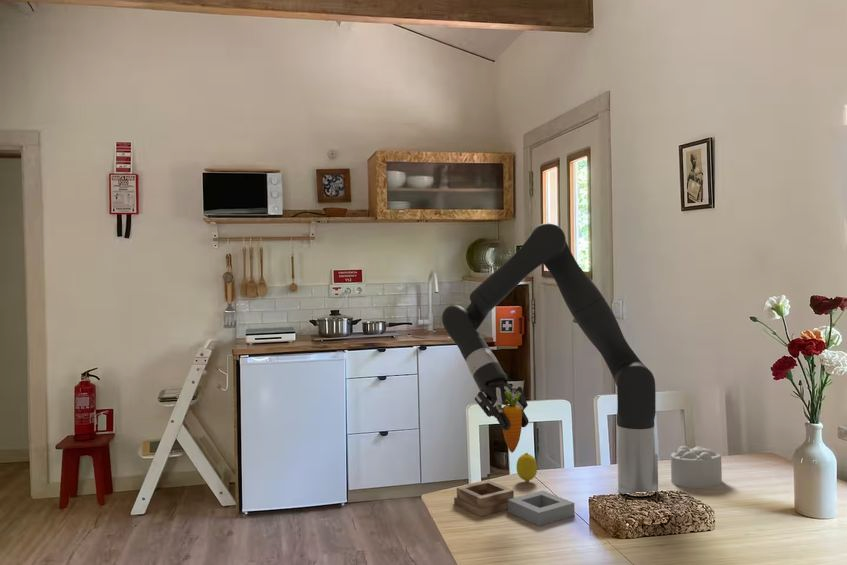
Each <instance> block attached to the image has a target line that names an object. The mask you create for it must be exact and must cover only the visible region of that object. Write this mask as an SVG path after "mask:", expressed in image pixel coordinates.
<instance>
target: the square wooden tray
mask: <svg viewBox="0 0 847 565" xmlns="http://www.w3.org/2000/svg"><path fill="white" fill-rule="evenodd" d="M512 498H515V494H514V489H511V488H509V487H507V486H505V485H504V486H503V485H502V484H499V483H496V482H494V481H492V480H489V479H487V480H484V481H479V482H475V483H472V484H471V483H470V484H467V485H462V486H459V487H456V496H454V497H453V504H454V505H456V506H458V507H461V509H462V508H463V509H465V510H467V511H469V512H470V513H473V514H475V515H477V516H479V517H484V516H488V515H491V514H495V513H498V512H499V513H500V512H502V511H506V510H507V511H508V499H512Z"/></svg>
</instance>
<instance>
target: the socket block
mask: <svg viewBox="0 0 847 565" xmlns="http://www.w3.org/2000/svg"><path fill="white" fill-rule="evenodd" d="M507 512H508V513H510V514H512V515H514V516H515V517H517V518H520V519H523V520H525V521H527V522H529V523H531V524H534V525H536V526H538V527H541V526H545V525H547V524H552V523H554V522H558V521H561V520H564V519H567V518H571V517H574V516H575V515H576V514H575V502H573V501H570V500H568V499H565V498H563V497H561V496H557V495H554V494H553V493H551V492H547V491H544V490H540V491H535V492H531V493H526V494H524V495H520V496H516V497H514V498H512V499H508V509H507Z"/></svg>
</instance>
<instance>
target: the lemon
mask: <svg viewBox="0 0 847 565" xmlns="http://www.w3.org/2000/svg"><path fill="white" fill-rule="evenodd" d="M516 472H517V475H518V477H519V478H520V479H521V480H524V482H525V483H528V482H529V481H531V480H533V479H534V478H535V477H536V475H537V472H538V465H537V461H536V459H535V457H534V456H533V455H532V454H529V453H528V452H525V453H524V454H521V455H520V456H519V457H518V459H517V461H516Z"/></svg>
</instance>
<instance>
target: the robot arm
mask: <svg viewBox="0 0 847 565" xmlns="http://www.w3.org/2000/svg"><path fill="white" fill-rule="evenodd" d="M566 239H567V238H566V234H565V232H564V231H563V229H562V228H561V227H560V226H559V225H557V224H555V223H549V222H547V223H545V222H544V223H541V224H539V225H538V226H536V227H535V228H534V229H533V230H532V232H531V234H530V236H529V237H528V238H527V240H525V242H524V243H523V245H522V246H521V247H520V248H519V249H518V250H517V251H516V253H514V254H513V255H512V257H510V259H508V260H507V261H506V262H505V263H504V264H503V265H501V266H500V267H498V268H497V270H495V271H494V272H492V273H491V275H489V276H488V277H487V278H486V279H485V280H484V281H482V282H481V283H480V284H479V285H478V286H477V287H476V288H475V289H474V290H473V291H472V292H471V293H470V294H469V300H470V304H469V305H468V306H467V307H466V308H464V307H463V306H460V305H457V304H453V305H449V306H447V307H446V308H445V309H444V310H443V312H442V314H441V315H442V316H441V320H442V321H441V322H442V325H443V327H444V330H445V331H446V332H447V334H448V336H449V337H450V338H451V339H452V341H453V342H454V344H456V346H457V348H458V349H459V351H460V353H461V355H462V357H463V359H464V362H465V363H466V366H467V368H468V371H469V373H470V374H471V377H472V378H473V380H474V382H475V385H476V386H477V388H478V390H479V392H477V394H476V396H475V397H474V400H475V402H476V403H477V405H479V407H480V409H481V410H482V411H483V413H484V414H485V415H486V416H487V417H488V418H491V417H494V418H495V419H496V421H497V422H498V424H499V426H500V427H501V429H502V430H503V429H504V430H508V429H509V428H510V426H511V425H510V423H509V421H508V419H507V417H506V415H505V414H504V413H502V412H503V410H502V408H503V406H507V405H509V404H508V403H507V402H506V401H505V400H507V398H506V395H505V392H506V391H508V393H511V394H512V396H513V399H515V397H516V396H517V394H518V393H521V396H520V397H519V399H518V401H517V403H516V405H517V406H519V407H520V408H521V409H522V428H526V427H527V426H528V424H529V418H528V416H527V415H526V413H525V409H526V408H528V402H527V399H526V396H525V393H524V389H523V388H522V386H518V387H517V388H514V387H513V386H511V385H510V384H509V383H508V376H507V375H506V373H505V371H504V369H503V368H502V366H501V364H500V362H499V361H498V359H497V357H496V356H495V354H494V353H493V351H492V350H491V349H490V347H489V345H488V344H487V341H486V340H485V338H484V336H482V335H481V333H480V332H478V329H479V327H480V326H481V325H482V324H483V323H484V320H485V319H486V318H487V316H488V314H489V313H490V311H492V310H494V308H495V307H496V306H498V305H499V304H500V303H501V302H502V301H503V300H504V299H505V298H506V297H508V295H510V293H512V292H513V290H514V289H515V288H517V286H518V285H519V284H520V283H521V282H522V281H523V280H524V279H525V278H526V277H528V275H529V274H530V273H532V272H533V271H534V270H536V269H537V268H539V267H540V266H541V265H544V266H545V268H546V269H547V270H548V272H549V273H550V275H551V276H552V278H553V279H554V281H555V283H556V285H557V287H558V289H559V290H558V291H559V292H560V294H561V297H562V298H563V301H564V303H565V304H566V307H567V308H568V310H569V312H570V314H571V316H572V317H573V319H574V320H575V322H576V324H577V325H578V326H579V328H580V329H581V331H582V332H583V333H584V335H585V336H586V337H587V339H588V340H589V341H590V342H591V344H592V345H593V346H594V347H595V348H596V350H597V351H598V352H599V353H600V354H601V357H602V358H603V360H604V362H605V364H606V366H607V368H608V370H609V372H610V373H611V376H612V378H613V381H614V382H615V385H616V392H617V394H616V395H617V397H616V398H617V399H616V400H617V401H616V402H617V411H616V437H617V439H616V441H617V442H616V444H617V449H616V450H617V486H618V487H617V488H618V491H617V492H619V493H620V494H622V495H624V494H626V493H636V492H649V491H655V492H656V493H657V492H659V468H658V466H659V465H658V464H659V463H658V460H659V459H658V457H659V456H658V454H657V453H656V440H655V435H656V434H655V420H656V419H655V418H656V410H657V409H656V401H657V400H656V395H657V394H656V392H657V391H656V379H655V376H654V374H653V372H652V371H651V370H650V369H649V368H648V367H647V366H646V365H645V364H644V363H643V362H642V361H641V360H640V358H639V357H638V356H637V354H636V353H635V352H634V350H633V349H632V347H631V346H630V344H629V343H628V342H627V340H626V339H625V337H624V334H623V331H622V329H621V327H620V325H619V322H618V320H617V318H616V316H615V314H614V313H613V311H612V308H611V307H610V305H609V303H608V302H607V300H606V299H605V297H604V296H603V294H602V293H601V291H600V290H599V288H598V287H597V286H596V284H595V283H594V282H593V281H592V280H591V278H590V277H589V276H588V275H587V274H586V272H585V271H583V269H582V268H581V267H580V265H579V263H578V262H577V261H576V258H575V257H574V254H573V253H572V251H571V249H570V247H569V245H568V243H567V240H566Z"/></svg>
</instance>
